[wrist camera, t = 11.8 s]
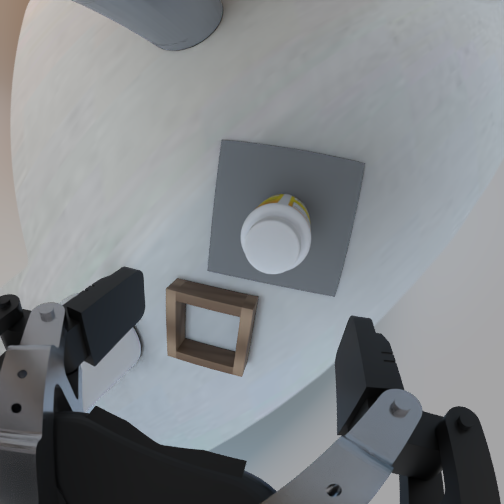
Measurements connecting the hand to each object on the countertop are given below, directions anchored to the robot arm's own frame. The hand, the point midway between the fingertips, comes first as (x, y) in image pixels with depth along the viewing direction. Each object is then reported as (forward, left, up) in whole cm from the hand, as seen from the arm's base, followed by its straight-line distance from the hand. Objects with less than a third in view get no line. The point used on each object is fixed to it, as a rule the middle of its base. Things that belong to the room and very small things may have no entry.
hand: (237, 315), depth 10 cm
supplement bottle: (0, 0, -19) cm, 19 cm away
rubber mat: (0, 0, -19) cm, 19 cm away
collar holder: (+14, -6, -19) cm, 24 cm away
